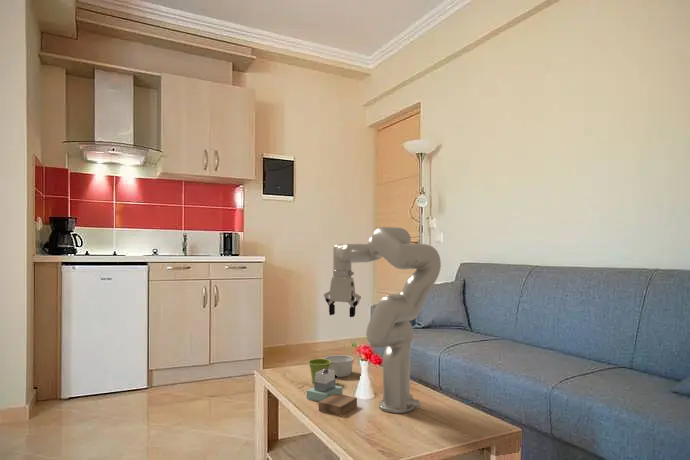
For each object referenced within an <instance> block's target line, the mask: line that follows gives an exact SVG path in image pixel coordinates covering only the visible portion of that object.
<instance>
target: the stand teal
mask: <svg viewBox="0 0 690 460" xmlns="http://www.w3.org/2000/svg"><path fill="white" fill-rule="evenodd" d="M335 393H336V394H341V395H343V386H341V385H336V387H335V388H333V389H331V390H329V391H327V392H321V391H316V390H314V386H313V387H311V388H309V389H307V390H306V399H307V400H311V401H315V402H316V401H317V402H320V401H322V400H324V399H326V398H328V397H330V396H332V395H333V394H335Z"/></svg>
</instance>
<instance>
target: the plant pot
mask: <svg viewBox="0 0 690 460" xmlns="http://www.w3.org/2000/svg"><path fill="white" fill-rule="evenodd" d="M330 363H331V361H330V360H327V359H324V358H314V359H310V360H308V364H309V368H310V375H311V382H312V384H314V382H315V373H316V372H318V371H320V370H322V369H329V366H330Z"/></svg>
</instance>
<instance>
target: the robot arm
mask: <svg viewBox="0 0 690 460" xmlns="http://www.w3.org/2000/svg"><path fill="white" fill-rule="evenodd" d="M411 240H412V239H411V235H410V232H409V231H408V230H406V229H405V228H402V227H393V226H392V227H391V226H381V227H377V229H375V230H374V231H373V233H372V235H371V237H369V239H368V243H346V244H342V243H340V244H334V246H333V248H332V249H333V251H332V253H333V256H332V257H333V259H332V260H333V261H332V266H333V267H332V271H333V272H332V277H331V280H330V285H329V286H330V287H329V291H328V292H326V293H324V294H323V297H324V299H325V302H326V303H327V305H328V312H329V316H334V315H335V313H336V306H335V303H337V302H339V303H348V305H349V306H350V307H349V317H350V318H354V317H355V316H356V307H357V306H358V305H359V304H360V302H361V299H362V296H360V294H357V293H356V286H355V280H354V277H353V276H354V275H355V272H354V271H352V264H353V263H357V264H358V263H369V262H373V261H377V260H378V261H379V260H380V259H382V258H384V259H385V260H386V261H387V262H388V263H389V264H390V265H391V266H393V267H394V268H396V269H399V270H415V269H416V270H415V271H414V272H413V273H412V274H411V275H410V276H409V277H408V278H407V280H406V281H405V283H404V286H403V288H402V289H401V291H400V292H399V293H395V294H387V295H384V296H383V297H382V298H380V299H379V300H378V302H377V304H376V306H375V309H374V311H373V312H372V314H371V315H372V316H371V318H370V319H369V322H368V324H367V327H366V333H365V336H366V340H367V343H368V345H370V346H372V347H373V348H377V349H381V348H385V349H384V351H383V356H382V357H383V358H382V362H383V363H382V399H381V400H379V402H378V408H379V409H380V410H382V411H384V412H388V413H393V414H403V413H409V412H412V411H414V409H415V408H420V407H421V400H420V399H414V397H413V393H411V347H412V340H413V336H414V335H413V334H414V331H413V330H414V329H413V326H412V324H411V322H410V321H413V320H416V318H417V317H418V316H419V314H420V312H421V311H422V308H423V306H424V304H425V302H426V300H427V298H428V296H429V293H430V291H431V290H432V289H433V286H434V284H435V283H436V282H437V280H438V277H439V275H440V272H441V267H442V265H441V264H442V263H441V257H440V256H441V255H440V254H439V252H438V250H437V249H436V248H435V247H434V246H432V245H429V244H426V243H411Z"/></svg>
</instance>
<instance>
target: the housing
mask: <svg viewBox="0 0 690 460" xmlns="http://www.w3.org/2000/svg"><path fill="white" fill-rule="evenodd" d="M335 378H336V377H335V370H330V369H322V370H320V371H318V372H316V373H315V382H314V383H313V384H314V385H313V387H314V390H316V391H321V392H327V391H329V390H331V389H333V388H335V387H336V386H337V385H336V379H335Z"/></svg>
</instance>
